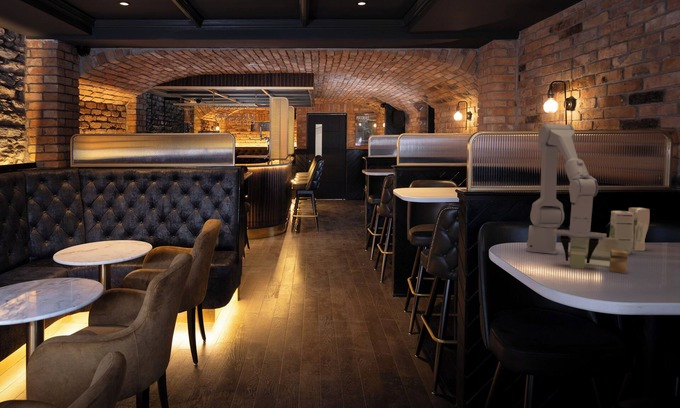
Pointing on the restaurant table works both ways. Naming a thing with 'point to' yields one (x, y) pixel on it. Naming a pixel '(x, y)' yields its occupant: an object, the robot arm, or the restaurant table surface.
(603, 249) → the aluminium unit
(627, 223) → the syrup box
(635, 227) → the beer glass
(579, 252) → the sage block
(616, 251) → the oak block
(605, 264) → the pad
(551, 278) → the restaurant table surface
